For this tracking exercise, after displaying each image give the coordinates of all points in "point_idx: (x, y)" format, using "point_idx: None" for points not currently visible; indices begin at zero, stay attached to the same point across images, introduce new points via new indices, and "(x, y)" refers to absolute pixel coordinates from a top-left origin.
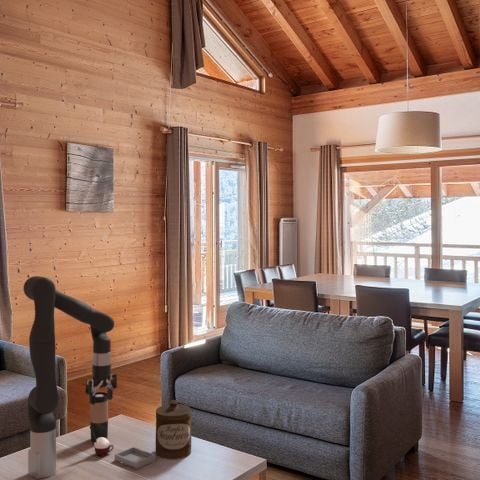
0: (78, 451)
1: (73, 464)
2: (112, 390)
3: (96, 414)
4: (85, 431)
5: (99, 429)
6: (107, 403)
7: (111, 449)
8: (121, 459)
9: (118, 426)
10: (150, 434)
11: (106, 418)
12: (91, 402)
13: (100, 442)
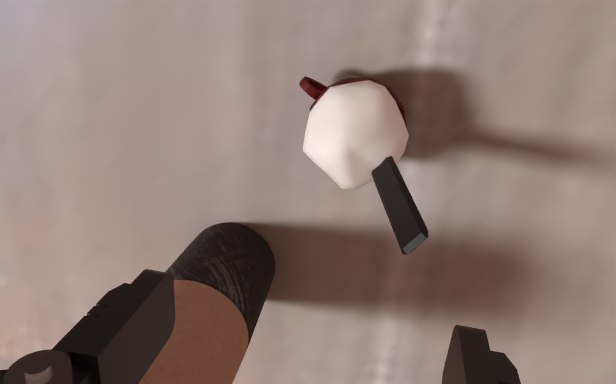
0: None
1: (559, 152)
2: (54, 351)
3: (218, 352)
4: None
5: (238, 273)
6: None
7: (316, 82)
8: None
9: (68, 288)
10: (3, 79)
11: None
12: (514, 373)
13: (379, 129)
